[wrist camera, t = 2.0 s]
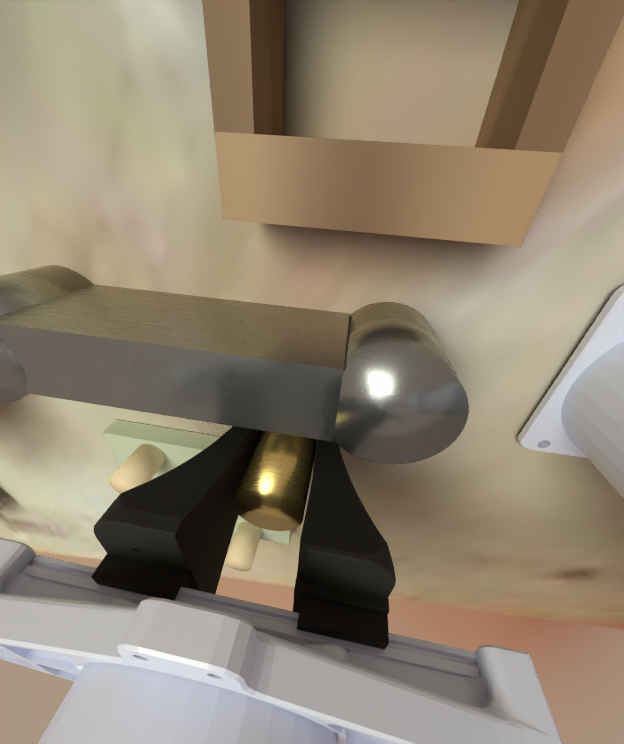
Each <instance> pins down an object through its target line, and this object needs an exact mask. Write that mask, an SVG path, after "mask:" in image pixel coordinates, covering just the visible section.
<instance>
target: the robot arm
mask: <svg viewBox="0 0 624 744" xmlns="http://www.w3.org/2000/svg"><path fill="white" fill-rule="evenodd" d="M262 432H263V431H262V430H256V429H250V428H243V427H237V426H233V427H232V428H231V429H229V430H228V431H227V432H226V433H225V434H224V435H222V436H221V437H220V438H219V439H217V440H216V441H215V442H214V443H212V444H211V445H210V446H208V447H207V448H206V449H204V450H203V451H201V452H200V453H198V454H197V455H195V456H194V457H192V458H191V459H189V460H187V461H186V462H184V463H182V464H181V465H179V466H177V467H176V468H174V469H172V470H170V471H168V472H166V473H164V474H162V475H160V476H158V477H156V478H154V479H152V480H150V481H148V482H146V483H144V484H141V485H139V486H137V487H134V488H132V489H130V490H127V491H125V492H122V493H121V494H120V495H119V496H118V498H117V499H116V500H115V501H114V502H113V503H112V504H111V506H110V507H109V508H108V509H107V511H106V512H105V513H104V514H103V516H102V517H101V518H100V519H99V521H98V522H97V523H96V524H95V526H94V533H95V535H96V538H97V539H98V540H99V542H100V543H101V545H102V546H103V548H104V549H105V550H106V552H107V555H106V556H105V558H104V559H103V560H102V562H101V563H100V565H99V566H98V567H97V568H94V567H89V566H85V565H80V564H76V563H71V562H67V561H63V560H58V559H54V558H49V557H44V556H40V555H36V553H35V551H34V550H33V549H32V548H31V547H30V546H28V545H26V544H24V543H21V542H17V541H13V540H8V539H4V538H0V659H2V660H6V661H9V662H12V663H15V664H19V665H22V666H25V667H29V668H32V669H36V670H38V671H42V672H45V673H48V674H52V675H55V676H58V677H61V678H65V679H68V680H71V681H74V683H73V685H72V687H71V689H70V690H69V692H68V694H67V695H66V697H65V699H64V700H63V702H62V704H61V706H60V707H59V709H58V710H57V712H56V714H55V716H54V717H53V719H52V721H51V722H50V724H49V726H48V728H47V729H46V731H45V732H44V734H43V736H42V738H41V739H40V741H39V743H38V744H563V743H562V740H561V738H560V735H559V732H558V729H557V727H556V724H555V721H554V718H553V716H552V713H551V710H550V708H549V705H548V702H547V700H546V697H545V694H544V691H543V689H542V686H541V683H540V681H539V678H538V676H537V672H536V670H535V667H534V664H533V662H532V659H531V656H530V655H528V654H527V653H526V652H521V651H517V650H512V649H508V648H503V647H498V646H493V645H483V646H480V647H479V648H478V649H477V650H476V652H473V651H468V650H464V649H459V648H455V647H450V646H446V645H441V644H437V643H432V642H428V641H423V640H419V639H414V638H409V637H405V636H400V635H396V634H392V633H388V617H387V614H388V613H389V603H388V597H389V595H390V593H391V592H392V590H393V588H394V586H395V582H396V579H395V572H394V566H393V562H392V558H391V555H390V552H389V548H388V545H387V543H386V541H385V540H384V538H383V537H382V535H381V534H380V532H379V531H378V529H377V528H376V526H375V525H374V523H373V522H372V520H371V518H370V517H369V515H368V513H367V512H366V510H365V508H364V506H363V504H362V502H361V500H360V498H359V497H358V495H357V493H356V491H355V488H354V486H353V484H352V482H351V480H350V477H349V475H348V472H347V470H346V467H345V464H344V461H343V458H342V455H341V452H340V448H339V445H338V444H337V443H336V442H335V441H334V440H333V442H331V441H325V440H319V439H316V450H315V458H314V469H313V480H312V485H311V490H310V495H309V500H308V505H307V510H306V515H305V520H304V525H303V530H302V535H301V540H300V551H299V563H298V572H297V578H296V584H295V589H294V605H293V611H288V610H283V609H279V608H275V607H270V606H265V605H261V604H256V603H252V602H247V601H243V600H238V599H234V598H229V597H225V596H220V595H216V594H215V593H216V589H217V586H218V582H219V579H220V575H221V571H222V568H223V564H224V561H225V558H226V554H227V551H228V547H229V544H230V541H231V538H232V534H233V531H234V528H235V525H236V522H237V519H238V516H239V514H238V513H237V511H236V510H235V508H234V498H235V496H236V494H237V491H238V489H239V487H240V484H241V482H242V480H243V477H244V475H245V472H246V470H247V468H248V465H249V463H250V461H251V458H252V456H253V454H254V451H255V449H256V446H257V444H258V442H259V439H260V437H261V435H262ZM517 439H518V442H519V444H520V445H521V446H522V447H523V448H525V449H530V450H537V451H543V452H550V453H556V454H563V455H569V456H576V457H582V458H588V459H589V460H590V461H591V462H592V463H593V465H594V466H595V467H596V468H597V469H598V470H599V472H600V473H601V474H602V475H603V476H604V477H605V478H606V480H607V481H608V482H609V483H610V484H611V485H612V486H613V488H614V489H615V490H616V491H617V492H618V493H619V495H620V496H621V497H622V498H623V499H624V285H623V286H622V287H620V288H619V289H617V290H616V291H615V292H614V293H613V295H612V296H611V297H610V299H609V300H608V302H607V303H606V305H605V306H604V308H603V309H602V311H601V312H600V314H599V315H598V317H597V318H596V320H595V321H594V323H593V324H592V326H591V327H590V329H589V330H588V332H587V333H586V335H585V336H584V338H583V339H582V341H581V342H580V344H579V345H578V347H577V348H576V350H575V351H574V353H573V354H572V356H571V357H570V359H569V360H568V362H567V363H566V365H565V366H564V368H563V369H562V371H561V372H560V374H559V375H558V377H557V378H556V380H555V381H554V383H553V384H552V386H551V387H550V389H549V390H548V392H547V393H546V395H545V396H544V398H543V399H542V401H541V402H540V404H539V405H538V407H537V408H536V410H535V411H534V413H533V414H532V416H531V417H530V419H529V420H528V422H527V423H526V425H525V426H524V428H523V429H522V431H521V432H520V434H519V435H518V438H517ZM543 440H544V441H543ZM540 441H541V442H540Z"/></svg>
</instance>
